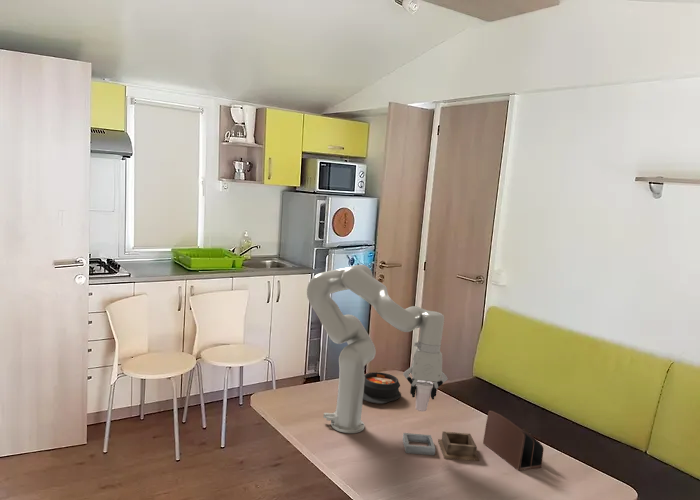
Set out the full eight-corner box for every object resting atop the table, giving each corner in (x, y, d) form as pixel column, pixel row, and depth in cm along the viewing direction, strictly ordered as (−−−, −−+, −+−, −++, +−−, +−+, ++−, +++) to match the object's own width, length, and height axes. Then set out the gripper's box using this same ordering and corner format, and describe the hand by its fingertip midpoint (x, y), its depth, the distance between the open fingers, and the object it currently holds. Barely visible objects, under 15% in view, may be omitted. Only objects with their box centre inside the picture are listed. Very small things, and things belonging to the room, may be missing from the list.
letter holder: (518, 471, 180) (524, 431, 178) (482, 443, 198) (487, 407, 196) (541, 468, 184) (547, 428, 182) (504, 441, 202) (509, 405, 200)
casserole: (368, 383, 248) (370, 365, 247) (407, 392, 242) (409, 374, 241) (348, 401, 225) (350, 382, 224) (391, 411, 219) (393, 392, 218)
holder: (405, 452, 185) (406, 446, 185) (402, 439, 195) (403, 432, 195) (434, 455, 185) (435, 448, 185) (430, 441, 195) (430, 435, 195)
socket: (444, 458, 184) (445, 445, 183) (437, 441, 196) (439, 429, 195) (478, 461, 184) (480, 448, 184) (470, 444, 196) (472, 432, 195)
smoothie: (429, 414, 185) (434, 375, 183) (411, 411, 186) (416, 372, 184) (430, 407, 191) (435, 369, 189) (412, 404, 192) (417, 366, 191)
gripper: (405, 348, 182) (399, 398, 184) (456, 353, 182) (449, 403, 185) (403, 341, 189) (397, 390, 192) (451, 346, 190) (445, 395, 192)
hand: (422, 396), depth 188 cm, fingers closed on smoothie, 6 cm apart
